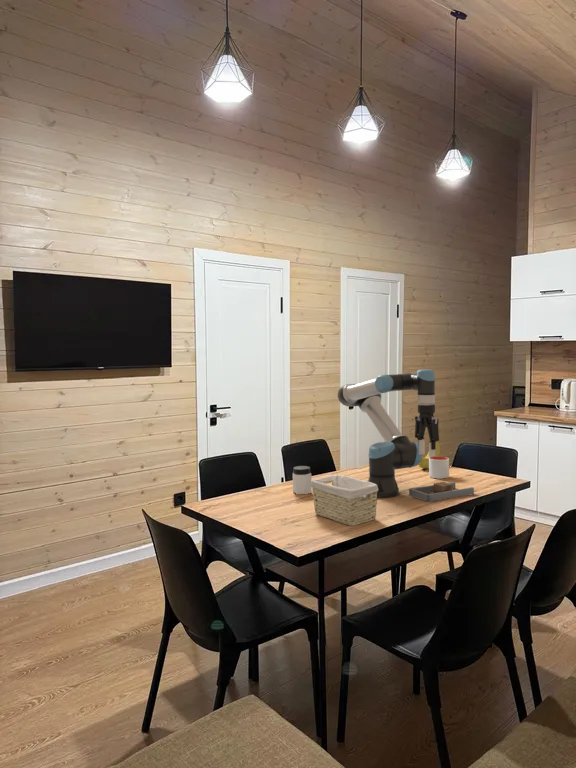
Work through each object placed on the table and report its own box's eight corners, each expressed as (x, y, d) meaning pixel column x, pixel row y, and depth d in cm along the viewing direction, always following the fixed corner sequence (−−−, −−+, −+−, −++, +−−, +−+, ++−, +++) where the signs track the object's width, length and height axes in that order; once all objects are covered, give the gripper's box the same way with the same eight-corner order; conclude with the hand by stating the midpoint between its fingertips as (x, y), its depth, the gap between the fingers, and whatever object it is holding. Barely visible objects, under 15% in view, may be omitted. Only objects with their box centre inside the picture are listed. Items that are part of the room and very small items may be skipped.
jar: (314, 493, 266) (313, 468, 266) (297, 495, 264) (297, 470, 263) (306, 489, 275) (306, 465, 274) (291, 491, 272) (290, 466, 271)
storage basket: (380, 520, 223) (380, 483, 223) (350, 528, 214) (349, 490, 213) (339, 507, 242) (338, 473, 242) (310, 515, 233) (309, 479, 232)
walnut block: (442, 497, 255) (442, 486, 255) (433, 494, 261) (433, 483, 260) (452, 495, 258) (452, 484, 257) (443, 492, 263) (443, 481, 263)
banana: (423, 471, 307) (423, 435, 306) (414, 470, 311) (413, 434, 310) (442, 464, 325) (442, 429, 323) (433, 463, 328) (432, 429, 327)
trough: (428, 501, 247) (427, 495, 247) (409, 495, 259) (409, 488, 259) (473, 494, 258) (473, 487, 258) (453, 488, 270) (453, 481, 270)
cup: (425, 476, 296) (424, 457, 295) (440, 474, 300) (440, 455, 299) (437, 480, 287) (437, 460, 286) (453, 478, 291) (453, 458, 290)
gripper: (447, 405, 246) (448, 458, 247) (419, 402, 263) (419, 451, 265) (433, 406, 243) (434, 459, 244) (406, 403, 260) (406, 452, 261)
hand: (426, 455), depth 254 cm, fingers open, 6 cm apart
